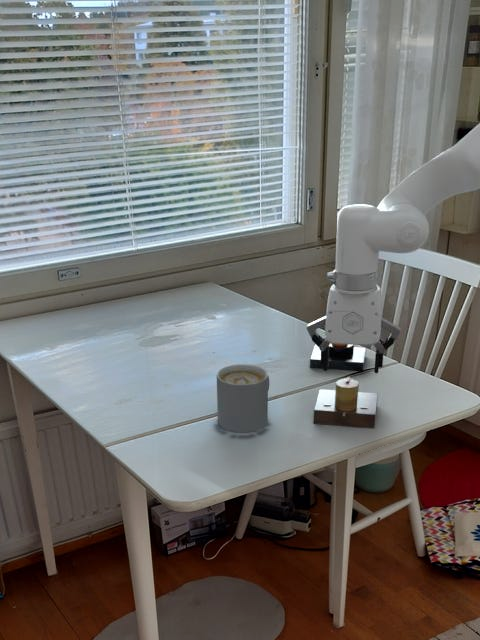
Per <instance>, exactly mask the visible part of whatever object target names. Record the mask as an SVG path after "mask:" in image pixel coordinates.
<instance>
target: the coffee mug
mask: <svg viewBox="0 0 480 640" xmlns="http://www.w3.org/2000/svg"><path fill="white" fill-rule="evenodd" d="M269 390H270V376H269V373H268V371H267V370H266V369H264V368H263V367H262V366H257V365H253V364H248V363H247V364H245V363H244V364H243V363H241V364H240V363H239V364H232V365H228V366H224V367H222V368H221V369H219V370H218V371H217V372H216V405H217V424H218V426H219V427H220V428H222V429H223V430H225V431H228V432H232V433H240V434H241V433H242V434H243V433H244V434H245V433H252V432H256V431H259V430H261V429H263V428H265V427H266V426H267V424H268V413H269V412H268V409H269V407H268V405H269Z"/></svg>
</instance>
